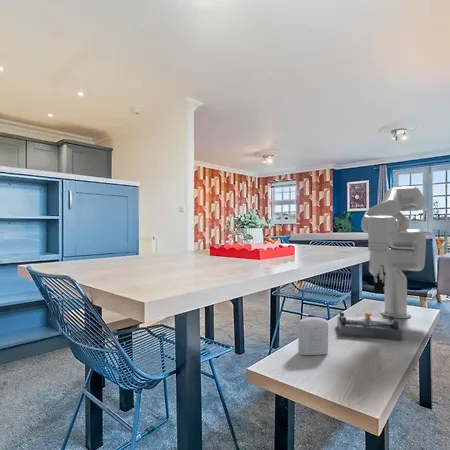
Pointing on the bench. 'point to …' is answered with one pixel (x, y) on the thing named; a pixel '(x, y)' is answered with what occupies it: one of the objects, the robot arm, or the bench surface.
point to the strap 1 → (354, 319)
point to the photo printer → (313, 336)
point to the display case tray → (369, 328)
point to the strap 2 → (382, 320)
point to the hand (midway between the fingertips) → (378, 292)
